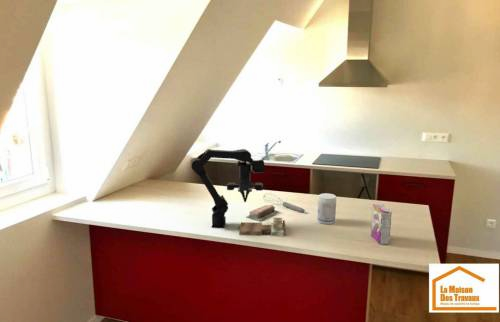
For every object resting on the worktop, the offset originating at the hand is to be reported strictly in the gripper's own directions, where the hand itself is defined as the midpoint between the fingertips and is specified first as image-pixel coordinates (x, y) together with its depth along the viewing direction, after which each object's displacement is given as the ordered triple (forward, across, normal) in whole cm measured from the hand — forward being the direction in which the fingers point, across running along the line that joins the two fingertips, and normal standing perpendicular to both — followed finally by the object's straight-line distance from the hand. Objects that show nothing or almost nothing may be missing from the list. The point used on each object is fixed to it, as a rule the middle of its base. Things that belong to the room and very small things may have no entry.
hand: (245, 201), depth 199 cm
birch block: (+10, +17, -10) cm, 22 cm away
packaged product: (+13, +9, +12) cm, 20 cm away
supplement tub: (+12, +44, +4) cm, 46 cm away
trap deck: (+12, +9, -10) cm, 18 cm away
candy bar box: (+12, +66, -19) cm, 70 cm away
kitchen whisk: (+12, +22, +28) cm, 37 cm away
